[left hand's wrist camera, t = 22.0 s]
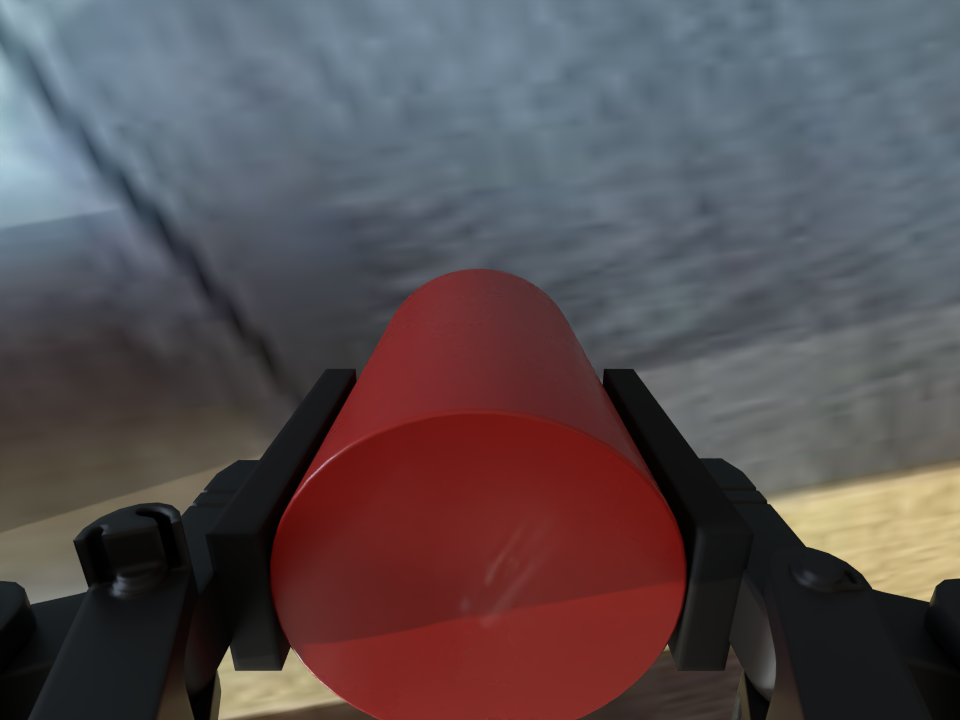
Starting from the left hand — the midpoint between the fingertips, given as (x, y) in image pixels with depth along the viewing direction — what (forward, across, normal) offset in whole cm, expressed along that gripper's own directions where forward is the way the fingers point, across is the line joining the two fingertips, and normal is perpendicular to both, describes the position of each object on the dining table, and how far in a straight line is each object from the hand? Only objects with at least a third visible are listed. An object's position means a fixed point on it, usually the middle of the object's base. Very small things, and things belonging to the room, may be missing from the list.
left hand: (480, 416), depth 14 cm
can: (+4, 0, 0) cm, 4 cm away
